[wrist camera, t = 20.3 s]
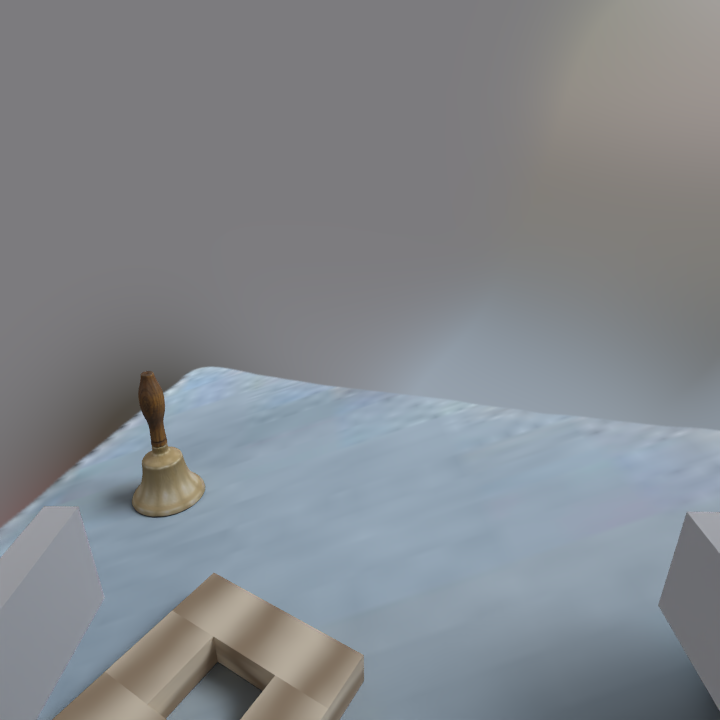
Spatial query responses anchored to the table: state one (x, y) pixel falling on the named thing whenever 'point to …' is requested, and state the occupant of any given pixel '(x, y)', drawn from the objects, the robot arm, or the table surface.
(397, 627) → the table surface
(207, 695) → the table surface
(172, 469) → the hand bell
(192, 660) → the frame
